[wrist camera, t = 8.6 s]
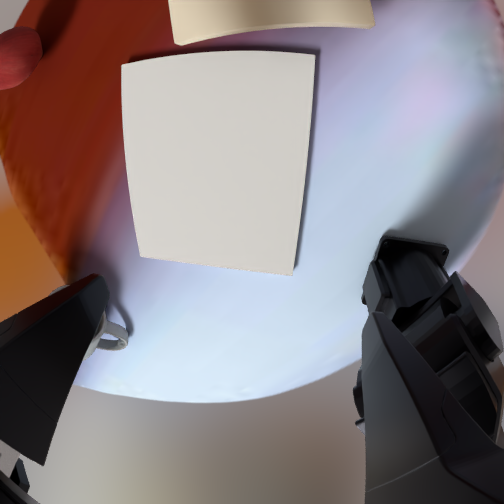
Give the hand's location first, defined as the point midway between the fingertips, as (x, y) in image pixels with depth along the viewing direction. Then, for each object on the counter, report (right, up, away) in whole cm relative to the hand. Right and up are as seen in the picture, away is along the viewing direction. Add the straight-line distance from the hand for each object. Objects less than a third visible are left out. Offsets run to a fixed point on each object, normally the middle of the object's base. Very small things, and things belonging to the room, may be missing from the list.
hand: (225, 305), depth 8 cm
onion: (-18, +20, +6) cm, 28 cm away
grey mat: (-2, +8, +10) cm, 13 cm away
